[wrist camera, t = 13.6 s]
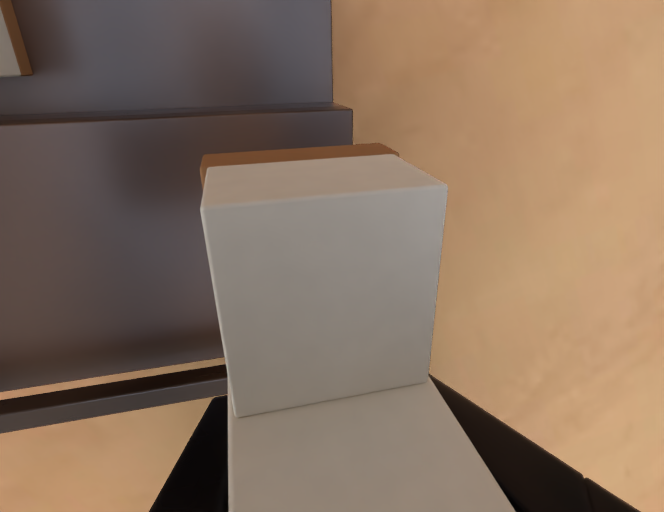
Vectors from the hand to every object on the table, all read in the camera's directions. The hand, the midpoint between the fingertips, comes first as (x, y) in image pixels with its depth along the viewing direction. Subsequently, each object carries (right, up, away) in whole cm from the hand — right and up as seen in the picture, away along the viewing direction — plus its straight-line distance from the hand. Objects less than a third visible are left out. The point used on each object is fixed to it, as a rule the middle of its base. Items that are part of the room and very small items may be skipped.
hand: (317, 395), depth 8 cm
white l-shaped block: (0, +1, 0) cm, 1 cm away
